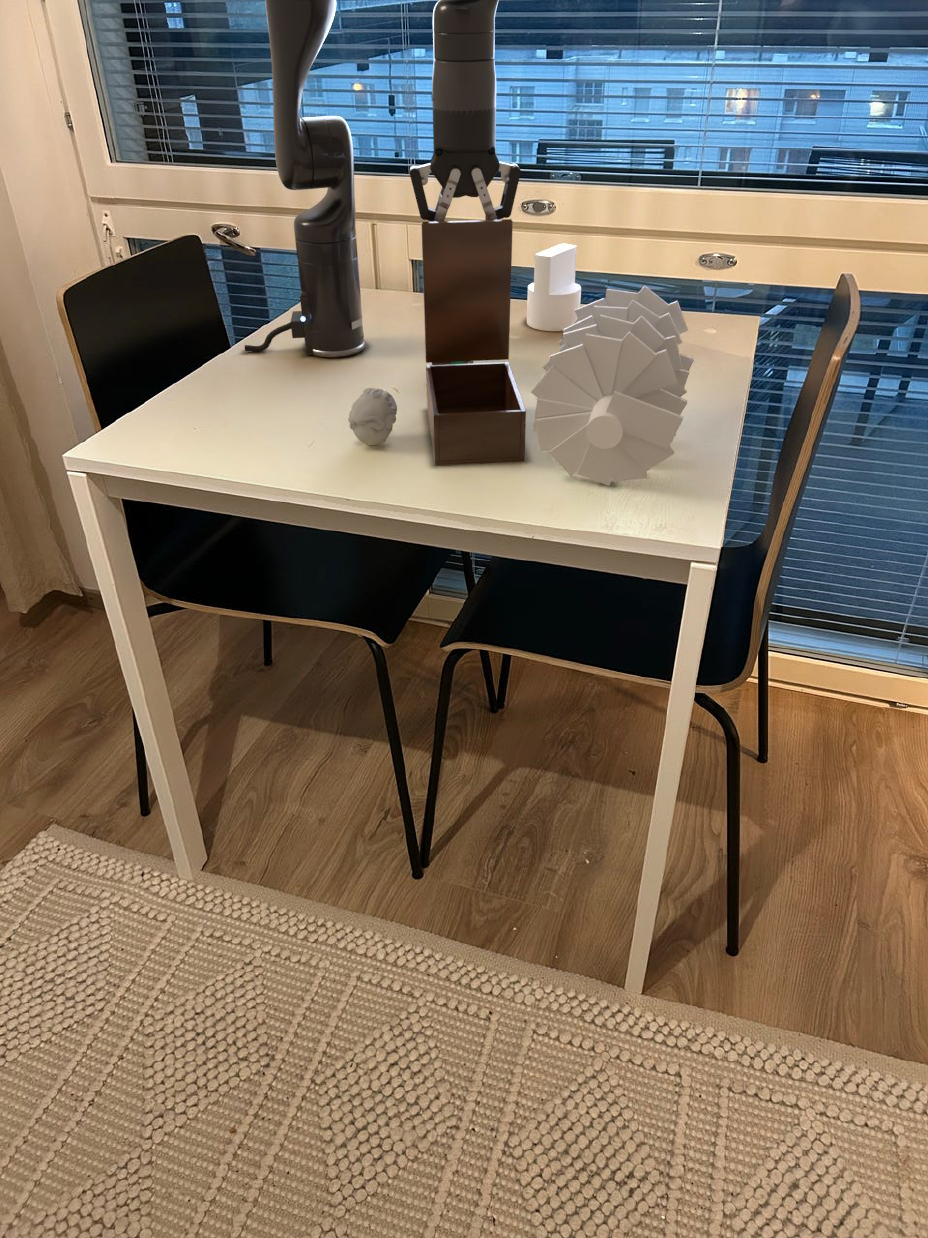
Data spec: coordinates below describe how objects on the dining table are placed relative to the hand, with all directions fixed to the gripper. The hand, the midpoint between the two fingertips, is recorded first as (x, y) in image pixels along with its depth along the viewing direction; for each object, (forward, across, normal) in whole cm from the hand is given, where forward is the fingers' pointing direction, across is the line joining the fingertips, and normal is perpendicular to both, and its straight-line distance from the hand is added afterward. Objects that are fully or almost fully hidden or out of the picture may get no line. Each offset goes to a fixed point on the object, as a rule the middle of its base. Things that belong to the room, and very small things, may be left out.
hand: (465, 252), depth 120 cm
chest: (+20, 0, -11) cm, 23 cm away
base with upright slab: (+21, +18, +34) cm, 44 cm away
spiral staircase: (+20, +17, -18) cm, 32 cm away
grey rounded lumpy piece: (+21, -13, -12) cm, 27 cm away
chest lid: (+4, 0, -3) cm, 5 cm away
